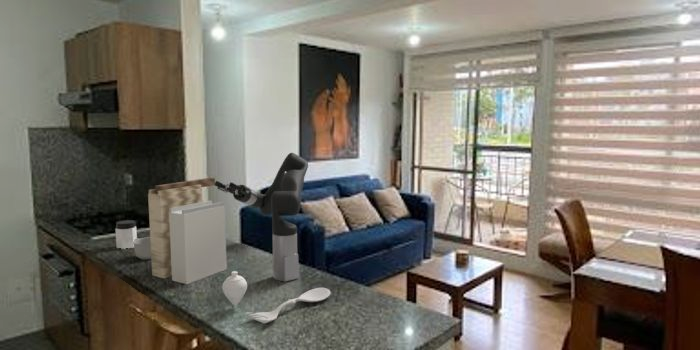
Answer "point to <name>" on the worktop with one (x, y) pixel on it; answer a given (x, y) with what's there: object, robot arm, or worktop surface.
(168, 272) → the tall stand
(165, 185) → the walnut bar
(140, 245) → the teacup
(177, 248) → the white upright box
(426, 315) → the worktop surface
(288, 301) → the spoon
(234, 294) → the spinning top
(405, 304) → the worktop surface
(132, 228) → the jar
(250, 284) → the worktop surface
